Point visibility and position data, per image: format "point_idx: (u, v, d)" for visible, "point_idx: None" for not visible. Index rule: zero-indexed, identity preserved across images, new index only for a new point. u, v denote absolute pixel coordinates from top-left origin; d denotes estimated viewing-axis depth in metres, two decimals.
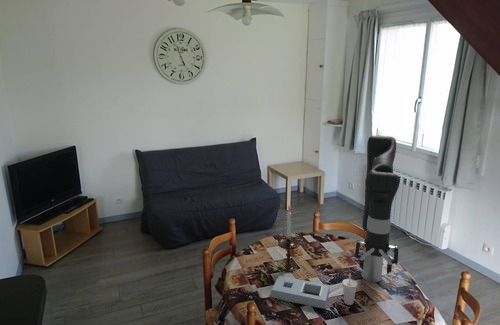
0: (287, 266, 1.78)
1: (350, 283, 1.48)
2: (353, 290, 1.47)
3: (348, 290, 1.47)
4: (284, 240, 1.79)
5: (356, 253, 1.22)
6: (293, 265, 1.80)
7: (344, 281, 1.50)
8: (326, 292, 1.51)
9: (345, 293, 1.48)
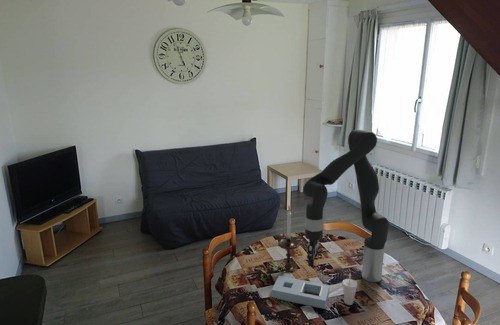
0: (287, 266, 1.78)
1: (350, 283, 1.48)
2: (353, 290, 1.47)
3: (348, 290, 1.47)
4: (284, 240, 1.79)
5: (313, 255, 1.43)
6: (293, 265, 1.80)
7: (344, 281, 1.50)
8: (326, 292, 1.51)
9: (345, 293, 1.48)
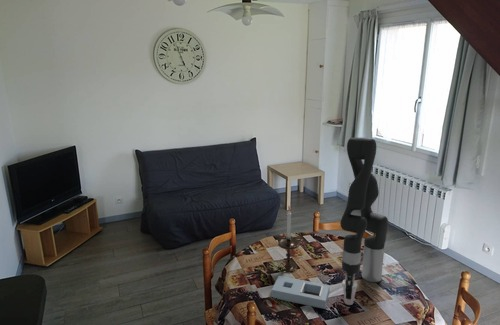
0: (287, 266, 1.78)
1: None
2: (353, 290, 1.47)
3: None
4: (284, 240, 1.79)
5: (351, 289, 1.43)
6: (293, 265, 1.80)
7: (344, 281, 1.50)
8: (326, 292, 1.51)
9: (345, 293, 1.48)
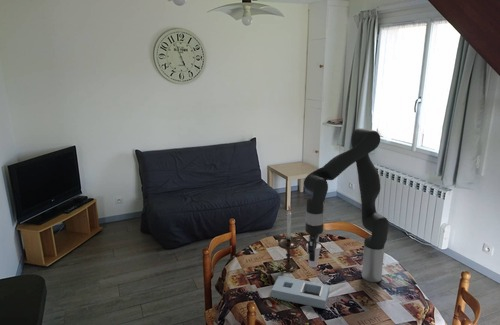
0: (287, 266, 1.78)
1: (314, 245, 1.48)
2: (316, 252, 1.47)
3: None
4: (284, 240, 1.79)
5: (314, 250, 1.43)
6: (293, 265, 1.80)
7: None
8: (326, 292, 1.51)
9: None
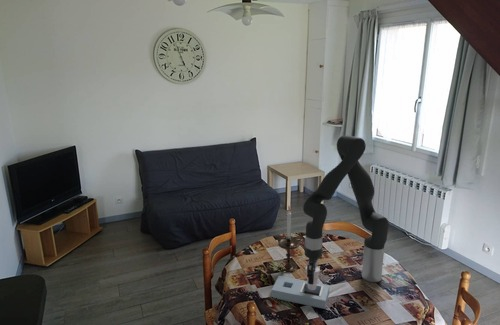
0: (287, 266, 1.78)
1: (313, 268, 1.51)
2: (315, 275, 1.49)
3: None
4: (284, 240, 1.79)
5: (312, 274, 1.45)
6: (293, 265, 1.80)
7: None
8: (326, 292, 1.51)
9: None
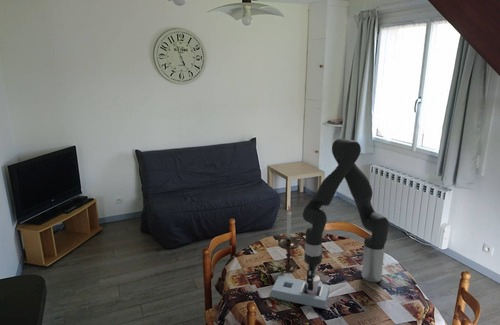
0: (287, 266, 1.78)
1: None
2: (315, 284, 1.51)
3: None
4: (284, 240, 1.79)
5: (312, 280, 1.45)
6: (293, 265, 1.80)
7: None
8: (326, 292, 1.51)
9: None
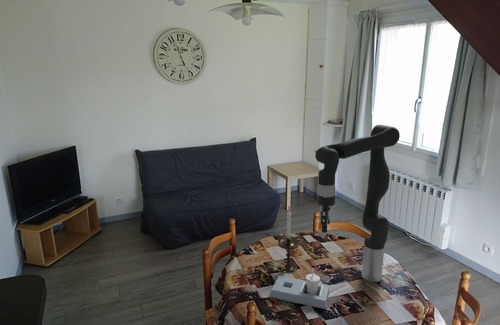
0: (287, 266, 1.78)
1: (313, 278, 1.52)
2: (315, 284, 1.51)
3: (311, 284, 1.51)
4: (284, 240, 1.79)
5: (326, 221, 1.44)
6: (293, 265, 1.80)
7: (307, 276, 1.54)
8: (326, 292, 1.51)
9: (308, 288, 1.53)
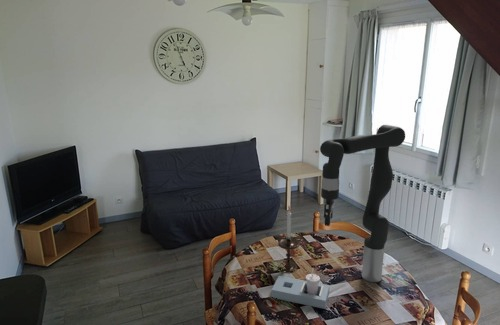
0: (287, 266, 1.78)
1: (313, 278, 1.52)
2: (315, 284, 1.51)
3: (311, 284, 1.51)
4: (284, 240, 1.79)
5: (329, 214, 1.44)
6: (293, 265, 1.80)
7: (307, 276, 1.54)
8: (326, 292, 1.51)
9: (308, 288, 1.53)
